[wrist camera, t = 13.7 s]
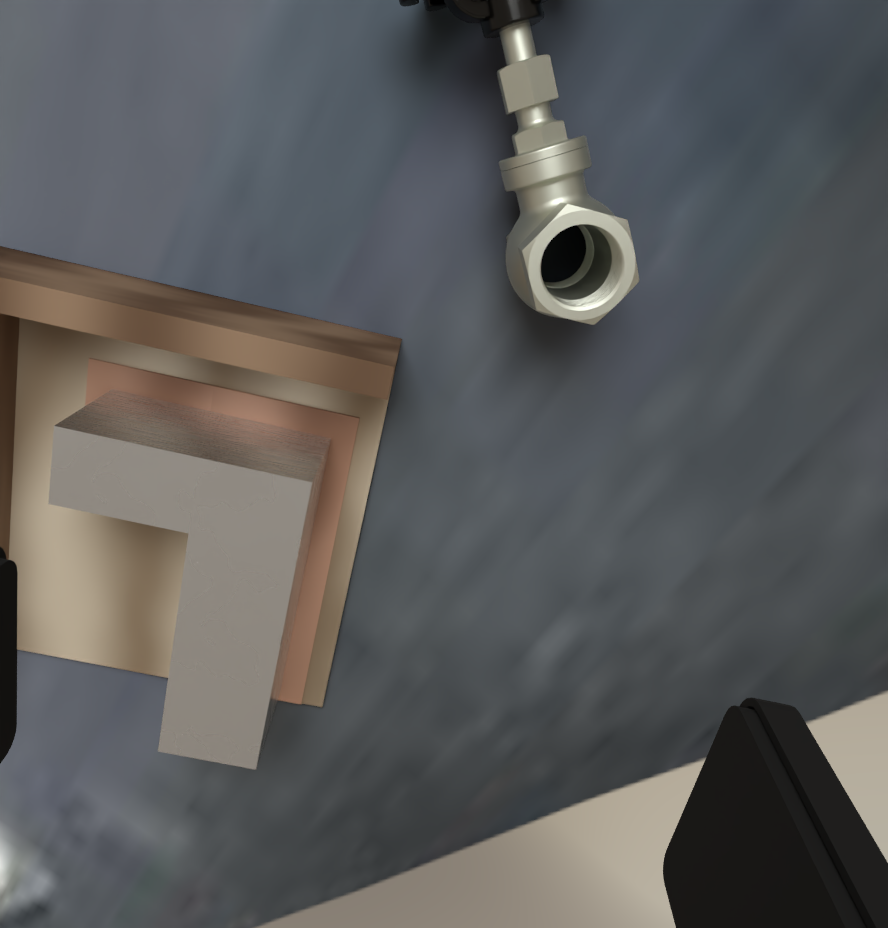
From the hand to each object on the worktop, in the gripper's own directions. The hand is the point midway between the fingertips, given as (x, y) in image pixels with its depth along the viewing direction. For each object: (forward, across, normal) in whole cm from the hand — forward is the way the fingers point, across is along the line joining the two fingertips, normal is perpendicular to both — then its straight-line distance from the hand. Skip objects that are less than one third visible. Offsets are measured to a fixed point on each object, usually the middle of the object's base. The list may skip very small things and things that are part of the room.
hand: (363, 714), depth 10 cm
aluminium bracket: (+21, +8, +11) cm, 26 cm away
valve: (+23, -2, -8) cm, 25 cm away
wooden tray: (+22, +10, +9) cm, 26 cm away
